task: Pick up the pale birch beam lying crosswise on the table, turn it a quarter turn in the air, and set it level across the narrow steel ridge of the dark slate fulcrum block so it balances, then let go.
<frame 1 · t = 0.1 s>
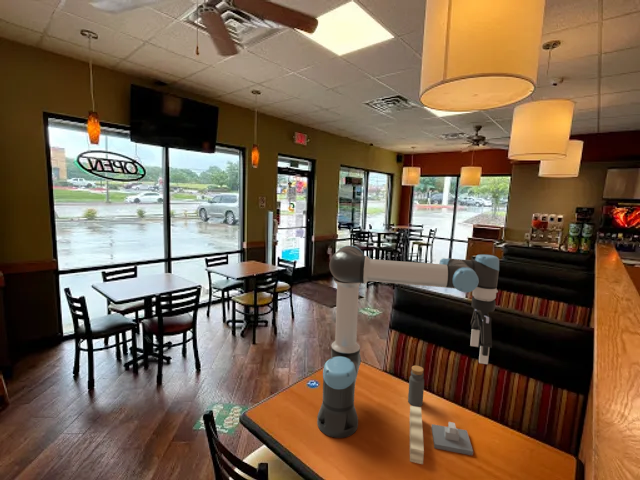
hand: (478, 354, 116), 28 cm above the table, fingers open, 13 cm apart
fulcrum: (450, 440, 111), on the table
bottle: (415, 402, 132), on the table
beam: (415, 439, 112), on the table
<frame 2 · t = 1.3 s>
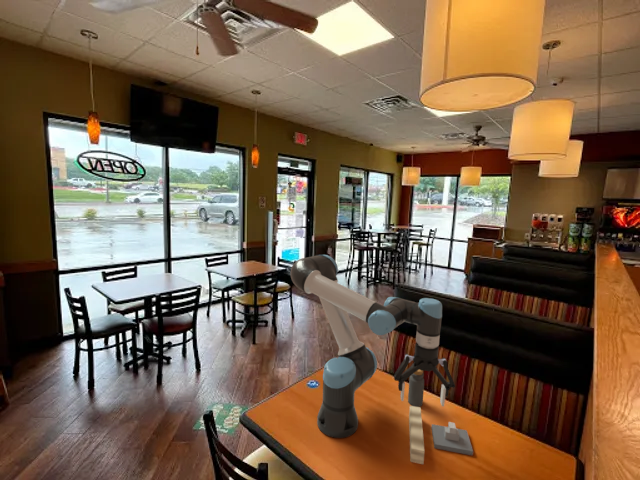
hand: (421, 401, 111), 13 cm above the table, fingers open, 13 cm apart
nothing on the table moved.
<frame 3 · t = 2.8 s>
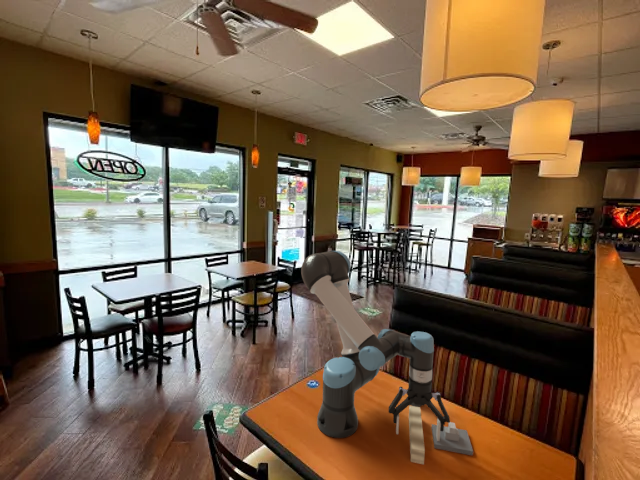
hand: (417, 435, 111), 1 cm above the table, fingers open, 13 cm apart
nothing on the table moved.
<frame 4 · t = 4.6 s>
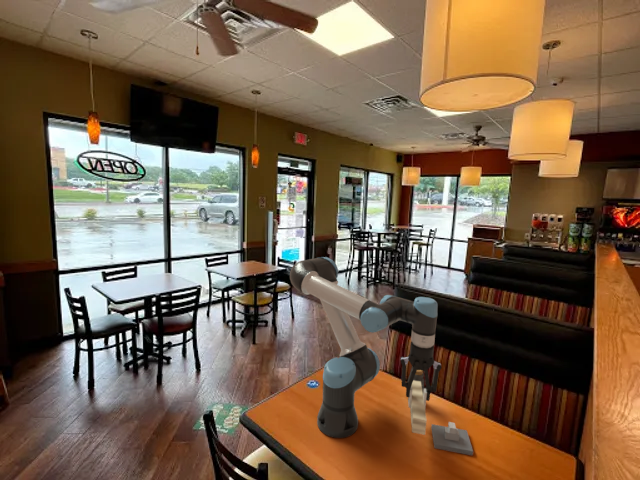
hand: (416, 406, 111), 12 cm above the table, fingers closed on beam, 4 cm apart
beam: (416, 411, 111), point 10 cm above the table, touching gripper
everything else where it was.
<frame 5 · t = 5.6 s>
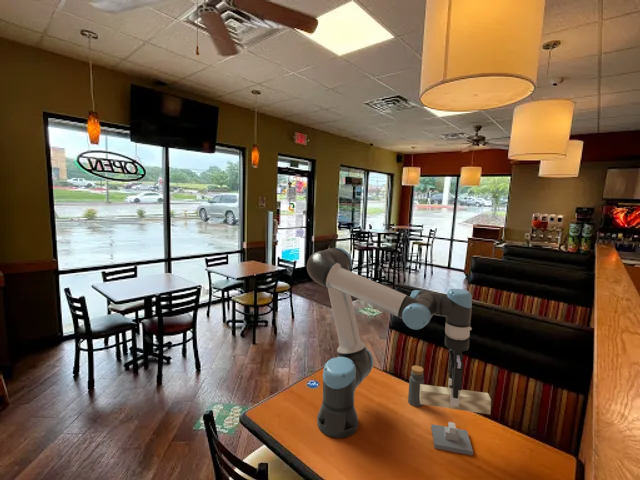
hand: (453, 400, 109), 15 cm above the table, fingers closed on beam, 4 cm apart
beam: (453, 405, 109), point 14 cm above the table, touching gripper
everything else where it was.
when the fingers open (5 cm above the table, at t = 7.1 s): beam stays where it is, resting on fulcrum.
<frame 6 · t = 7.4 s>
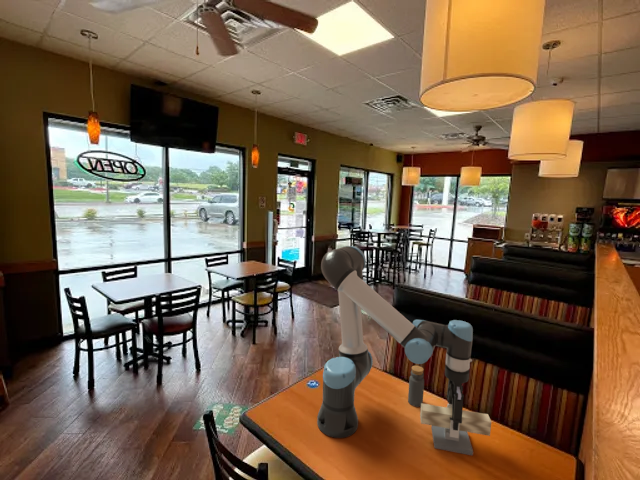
hand: (452, 428, 110), 5 cm above the table, fingers open, 7 cm apart
beam: (453, 425, 110), point 6 cm above the table, touching fulcrum
everything else where it was.
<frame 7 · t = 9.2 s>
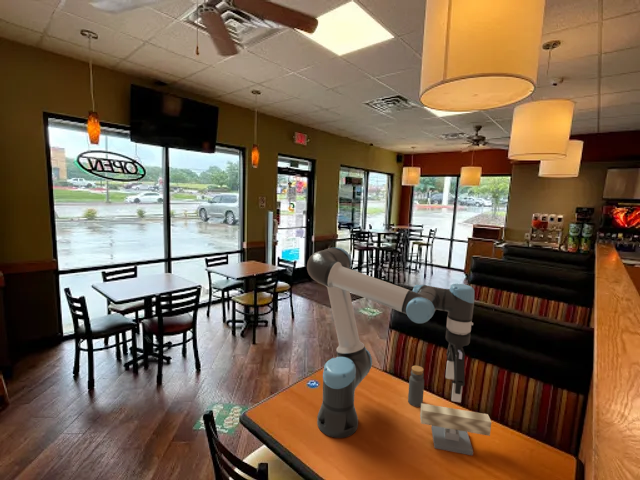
hand: (452, 389, 109), 19 cm above the table, fingers open, 13 cm apart
nothing on the table moved.
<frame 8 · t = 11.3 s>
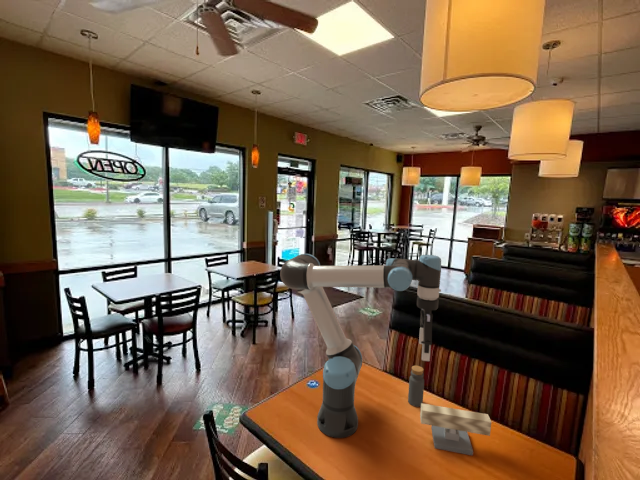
hand: (423, 351, 119), 27 cm above the table, fingers open, 13 cm apart
nothing on the table moved.
at the end: beam 0.4 cm off-centre on the fulcrum, point 6.0 cm above the fulcrum's base; beam tilted 0°; beam touching fulcrum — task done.
